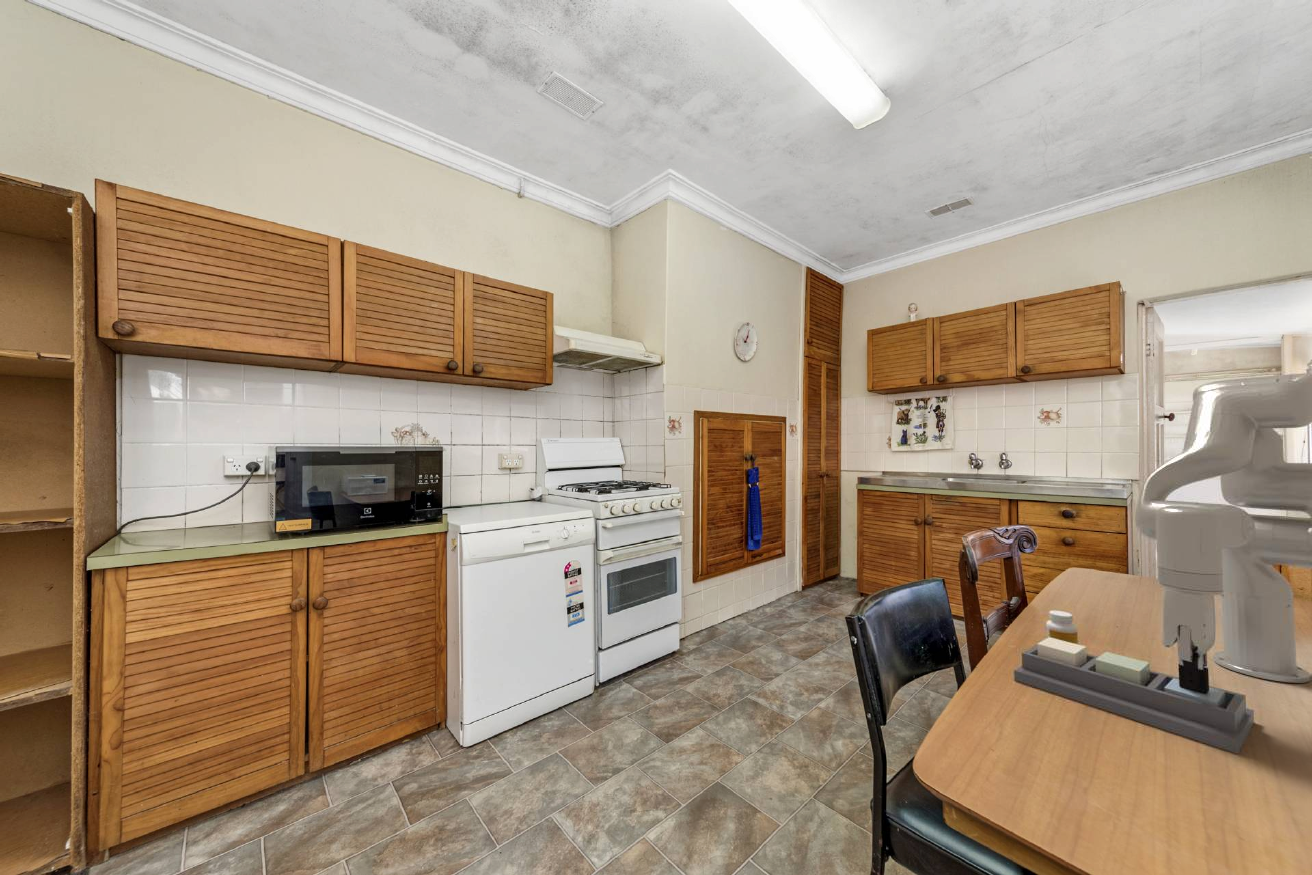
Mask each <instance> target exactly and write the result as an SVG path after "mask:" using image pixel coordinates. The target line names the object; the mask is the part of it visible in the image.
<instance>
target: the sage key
mask: <svg viewBox="0 0 1312 875" xmlns="http://www.w3.org/2000/svg"><path fill="white" fill-rule="evenodd" d="M1095 662H1096V672H1097V673H1100V674H1104V675H1107V676H1111V677H1114V678H1118V679H1121V680H1125V681H1128V682H1132V683H1135V684H1139V685H1142V686H1144V685H1145V684H1146V683H1147V682H1148V681H1149V680H1150V670H1151V669H1150V662H1149V661H1144V660H1140V659H1137V658H1134V657H1129V656H1124V655H1120V654H1116V653H1113V652H1110V651H1105V652H1103V653H1102V654H1101V655H1100V656H1098V658H1097V659H1095Z"/></svg>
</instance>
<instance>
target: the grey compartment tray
mask: <svg viewBox="0 0 1312 875" xmlns="http://www.w3.org/2000/svg"><path fill="white" fill-rule="evenodd" d="M1098 657H1099V656H1098V655H1093V654H1090V653H1087V652H1086V658H1087V662H1086V663H1084V664H1083V665H1082V666H1080V667H1076V666H1072V665H1069V664H1065V663H1062V662H1058V661H1055V660H1051V659H1047V658H1044V657H1040V656H1038V650H1037V644H1035V645H1034V646H1031V647H1030V648H1028V649H1026V650H1024V651H1023V652H1021V665H1020V666H1019V667H1017V668H1015V669H1013V676H1014V677H1013V680H1014V682H1018V683H1021V684H1024V685H1027V686H1030V687H1033V688H1036V689H1039V690H1042V691H1045V692H1048V693H1051V694H1053V695H1057V696H1060V697H1064V698H1066V699H1069V700H1072V701H1075V702H1078V703H1082V704H1085V705H1087V706H1091V707H1093V708H1097V709H1100V710H1101V711H1102V710H1103V711H1105V712H1108V713H1109V712H1110V713H1112V714H1114V715H1118V716H1121V717H1124V718H1127V719H1130V720H1133V721H1137V722H1139V723H1143V724H1145V725H1148V726H1151V727H1155V728H1157V729H1160V730H1163V731H1167V732H1169V733H1172V734H1175V735H1178V736H1181V737H1184V738H1187V739H1191V740H1193V741H1196V742H1199V743H1203V744H1205V745H1208V746H1211V747H1215V748H1218V749H1221V750H1223V751H1227V752H1230V753H1232V754H1236V755H1238V754H1240V752H1241V749H1242V747H1243V745H1244V743H1245V742H1246V739H1247V737H1248V735H1249V734H1250V732H1251V729H1252V728H1253V726H1254V723H1255V713H1254V709H1250V708H1247V698H1246V697H1247V696H1246V694H1241V693H1238V692H1235V691H1230V690H1226V689H1224V688H1220V687H1215V686H1212V685H1209V688H1212V689H1216V690H1220V691H1224V692H1225V708H1226V709H1223V708H1220V707H1216V706H1213V705H1209V704H1206V703H1202V702H1199V701H1195V700H1192V699H1188V698H1185V697H1181V696H1178V695H1174V694H1170V693H1167V692H1165V690H1164V688H1165V686H1166V685H1167V684H1168V683H1169V682H1170V681H1171V680H1172V679H1173V678H1175V679H1178V680H1179V676H1174V675H1169V674H1167V673H1164V672H1163V673H1162V672H1158V671H1155V670H1151V669H1150V680H1149V681H1148V682H1147V683H1146V684H1145V685H1144V686H1142V685H1139V684H1135V683H1132V682H1128V681H1125V680H1121V679H1118V678H1114V677H1111V676H1107V675H1104V674H1100V673H1097V672H1096V662H1095V659H1097V658H1098Z"/></svg>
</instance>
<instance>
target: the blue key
mask: <svg viewBox="0 0 1312 875" xmlns="http://www.w3.org/2000/svg"><path fill="white" fill-rule="evenodd" d="M1164 690H1165V692H1167V693H1170V694H1174V695H1178V696H1181V697H1185V698H1188V699H1192V700H1195V701H1199V702H1202V703H1206V704H1209V705H1213V706H1216V707H1220V708H1223V709H1226V708H1225V692H1224V691H1220V690H1216V689H1212V688H1209V691H1208V693H1207V694H1202V693H1198V692H1194V691H1191V690H1187V689H1184V688H1181V687H1180V686H1179V680H1178V679H1175V678H1173V679H1172V680H1171V681H1170V682H1169V683H1168V684H1167V685H1166V686H1165V688H1164Z"/></svg>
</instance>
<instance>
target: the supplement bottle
mask: <svg viewBox="0 0 1312 875" xmlns="http://www.w3.org/2000/svg"><path fill="white" fill-rule="evenodd" d="M1048 613H1049V617H1048V618H1049V620H1048V621H1046V623H1045V639H1047V638H1048V637H1050V638H1054V639H1058V640H1062V641H1066V642H1070V643H1074V644H1078V645H1079V640H1078V628H1077V626H1076V625H1075V624H1073V622H1074V618H1073V614H1071V613H1069V612H1067V611H1062V610H1049V612H1048Z"/></svg>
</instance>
